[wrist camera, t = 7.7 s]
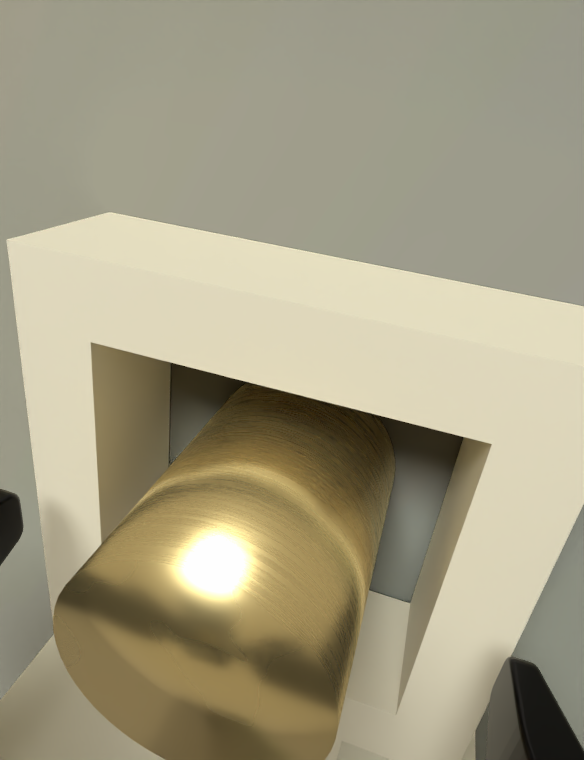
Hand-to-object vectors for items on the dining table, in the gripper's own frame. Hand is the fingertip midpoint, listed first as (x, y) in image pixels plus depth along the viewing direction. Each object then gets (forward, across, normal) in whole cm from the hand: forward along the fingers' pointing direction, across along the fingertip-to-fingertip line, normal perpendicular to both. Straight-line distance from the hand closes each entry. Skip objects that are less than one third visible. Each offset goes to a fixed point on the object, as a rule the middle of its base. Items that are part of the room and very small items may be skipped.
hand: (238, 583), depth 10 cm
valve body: (+4, 0, +5) cm, 6 cm away
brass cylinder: (+4, 0, 0) cm, 4 cm away
